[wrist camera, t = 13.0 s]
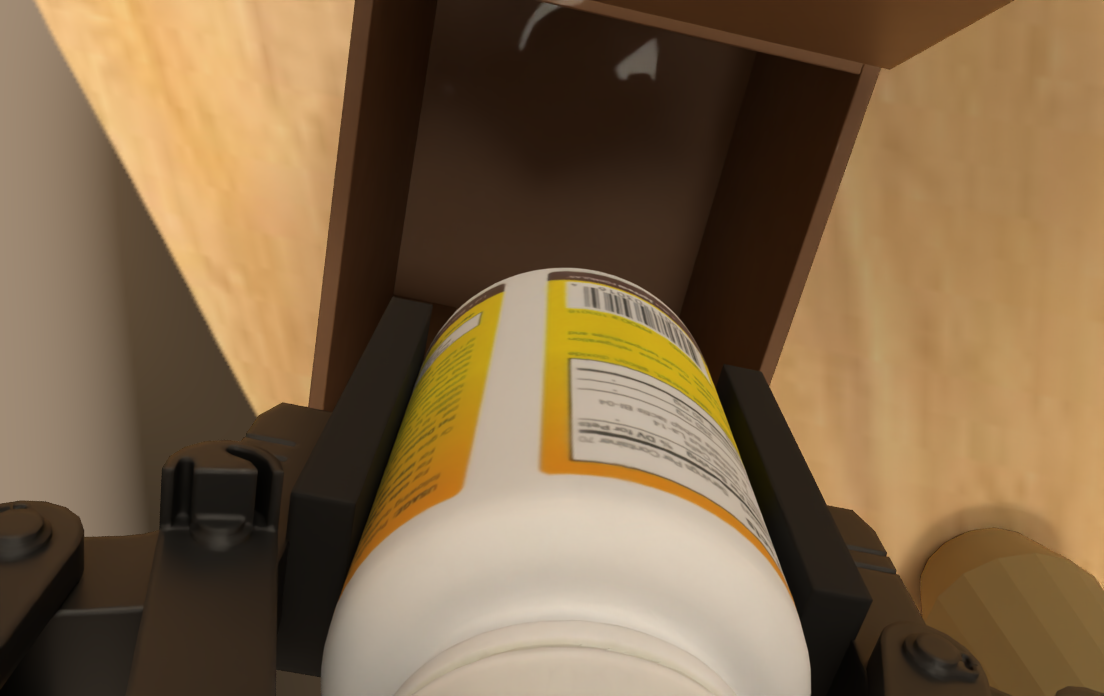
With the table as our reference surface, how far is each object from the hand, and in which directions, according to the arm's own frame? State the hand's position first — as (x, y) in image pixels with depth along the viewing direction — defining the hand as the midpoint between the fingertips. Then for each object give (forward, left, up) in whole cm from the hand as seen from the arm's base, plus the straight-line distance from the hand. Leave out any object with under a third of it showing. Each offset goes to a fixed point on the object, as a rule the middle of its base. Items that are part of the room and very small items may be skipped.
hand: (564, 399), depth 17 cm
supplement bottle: (0, 0, 0) cm, 0 cm away
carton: (0, 0, -20) cm, 20 cm away
